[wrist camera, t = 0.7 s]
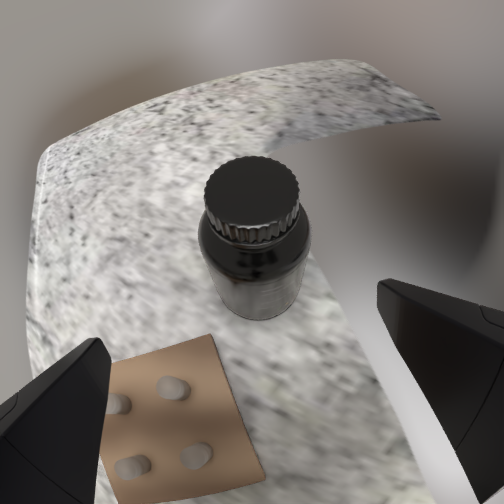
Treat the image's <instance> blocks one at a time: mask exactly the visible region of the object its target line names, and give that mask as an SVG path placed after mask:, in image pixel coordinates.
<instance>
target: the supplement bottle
mask: <svg viewBox="0 0 504 504" xmlns="http://www.w3.org/2000/svg"><path fill="white" fill-rule="evenodd" d="M204 192H205V194H204V202H205V208H206V209H205V211H204V213H203V215H202V217H201V220H200V223H199V228H198V241H199V246H200V249H201V252H202V255H203V258H204V260H205V262H206V265H207V267H208V270H209V272H210V274H211V277H212V279H213V281H214V284H215V286H216V288H217V291H218V293H219V295H220V297H221V299H222V300H223V302H224V303H225V304H226V306H227V307H228V308H229V309H230V310H232V311H233V312H234V313H236V314H238V315H240V316H242V317H245V318H248V319H255V320H261V319H268V318H271V317H274V316H277V315H279V314H281V313H282V312H284V311H285V310H286V309H287V308H288V307H289V306H290V305H291V304H292V303H293V301H294V300H295V298H296V296H297V294H298V291H299V288H300V285H301V281H302V277H303V273H304V269H305V265H306V261H307V257H308V253H309V249H310V244H311V237H312V227H311V223H310V218H309V216H308V213H307V211H306V210H305V208H304V207H303V205H302V204H301V202H300V199H299V198H300V189H299V183H298V182H297V181H296V177H295V175H294V174H292V171H291V170H290V169H288V168H287V167H286V166H285V165H283V164H281V163H280V162H279V161H275V160H272V159H271V158H265V157H263V156H260V157H257V156H250V157H248V156H245V157H242V158H236V159H234V160H231V161H228V162H227V163H226V164H223V165H221V166H220V167H219V168H218V169H216V170H215V171H214V173H213V174H212V175H210V179H209V180H208V181H207V182H206V187H205V189H204Z"/></svg>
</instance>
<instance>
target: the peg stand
mask: <svg viewBox="0 0 504 504" xmlns="http://www.w3.org/2000/svg"><path fill="white" fill-rule="evenodd" d="M99 453H100V456H101V459H102V462H103V465H104V468H105V470H106V473H107V476H108V479H109V481H110V484H111V486H112V489H113V491H114V494H115V496H116V499H117V501H118V504H152V503H161V502H169V501H176V500H182V499H188V498H194V497H199V496H204V495H209V494H214V493H219V492H223V491H227V490H231V489H235V488H239V487H243V486H246V485H250V484H253V483H257V482H260V481H263V480H266V476H265V474H264V472H263V469H262V467H261V465H260V462H259V460H258V458H257V455H256V453H255V450H254V448H253V445H252V443H251V441H250V438H249V436H248V433H247V431H246V428H245V425H244V423H243V420H242V418H241V415H240V413H239V410H238V407H237V405H236V402H235V399H234V397H233V394H232V391H231V389H230V386H229V383H228V380H227V377H226V375H225V372H224V369H223V366H222V363H221V360H220V358H219V355H218V352H217V349H216V346H215V343H214V340H213V337H212V335H211V334H207V335H204V336H201V337H198V338H195V339H192V340H189V341H185V342H182V343H179V344H176V345H173V346H170V347H166V348H163V349H160V350H156V351H153V352H150V353H146V354H143V355H140V356H136V357H133V358H129V359H126V360H122V361H118V362H115V363H112V364H111V373H110V383H109V395H108V403H107V409H106V414H105V420H104V426H103V432H102V438H101V445H100V452H99Z"/></svg>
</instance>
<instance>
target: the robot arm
mask: <svg viewBox="0 0 504 504" xmlns="http://www.w3.org/2000/svg"><path fill="white" fill-rule="evenodd" d="M377 308H378V311H379V313H380V315H381V317H382V319H383V321H384V323H385V325H386V328H387V330H388V332H389V334H390V336H391V338H392V340H393V342H394V344H395V346H396V348H397V350H398V352H399V353H400V355H401V356H402V358H403V360H404V361H405V363H406V364H407V366H408V368H409V370H410V371H411V373H412V375H413V376H414V378H415V380H416V381H417V383H418V385H419V387H420V388H421V390H422V392H423V393H424V395H425V397H426V399H427V401H428V402H429V404H430V406H431V408H432V409H433V411H434V413H435V415H436V417H437V419H438V420H439V422H440V424H441V426H442V428H443V430H444V431H445V433H446V435H447V437H448V439H449V441H450V443H451V445H452V447H453V449H454V450H455V453H456V455H457V457H458V459H459V461H460V463H461V465H462V467H463V469H464V471H465V474H466V476H467V478H468V480H469V482H470V484H471V486H472V488H473V491H474V493H475V495H476V497H477V500H478V501H479V503H480V504H483V503H484V502H486V501H487V500H489V499H490V498H491V497H493V496H494V495H496V494H497V493H498V492H500V491H501V490H502V489H504V312H503V311H500V310H496V309H493V308H489V307H486V306H483V305H480V306H479V305H478V304H476V303H472V302H469V301H466V300H462V299H459V298H456V297H452V296H449V295H445V294H442V293H438V292H435V291H432V290H429V289H425V288H422V287H418V286H415V285H412V284H408V283H405V282H401V281H398V280H394V279H391V278H389V279H385V280H381V281H379V282H378V285H377ZM111 364H112V362H111V357H110V355H109V353H108V351H107V349H106V347H105V346H104V344H103V342H102V340H101V339H100V338H98V337H95V338H89V339H87V340H85V341H84V342H83V343H81V344H80V345H79V346H77V347H76V348H75V349H73V350H72V351H71V352H69V353H68V354H67V355H65V356H64V357H63V358H61V359H60V360H59V361H57V362H56V363H55V364H53V365H52V366H51V367H49V368H48V369H47V370H45V371H44V372H43V373H42V374H40V375H39V376H38V377H36V378H35V379H34V380H32V381H31V382H30V383H28V384H27V385H26V386H25V387H23V388H22V389H21V390H19V392H17V393H15V395H13V396H12V397H10V398H9V399H8V400H6V401H5V402H4V403H2V404H1V405H0V504H94V498H95V487H96V477H97V468H98V460H99V452H100V445H101V438H102V432H103V426H104V420H105V414H106V409H107V403H108V395H109V383H110V373H111Z"/></svg>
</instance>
